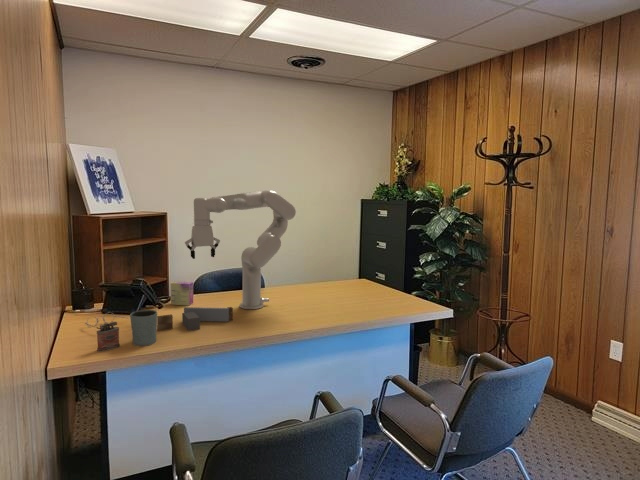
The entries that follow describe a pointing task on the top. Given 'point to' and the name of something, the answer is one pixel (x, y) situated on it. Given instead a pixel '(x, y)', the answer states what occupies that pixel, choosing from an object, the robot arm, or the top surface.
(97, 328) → the eyeglasses
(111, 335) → the lighter
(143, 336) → the grey-green cup
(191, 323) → the dark boxy piece
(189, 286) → the box
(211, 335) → the top surface
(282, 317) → the top surface
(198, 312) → the blue-grey long block
